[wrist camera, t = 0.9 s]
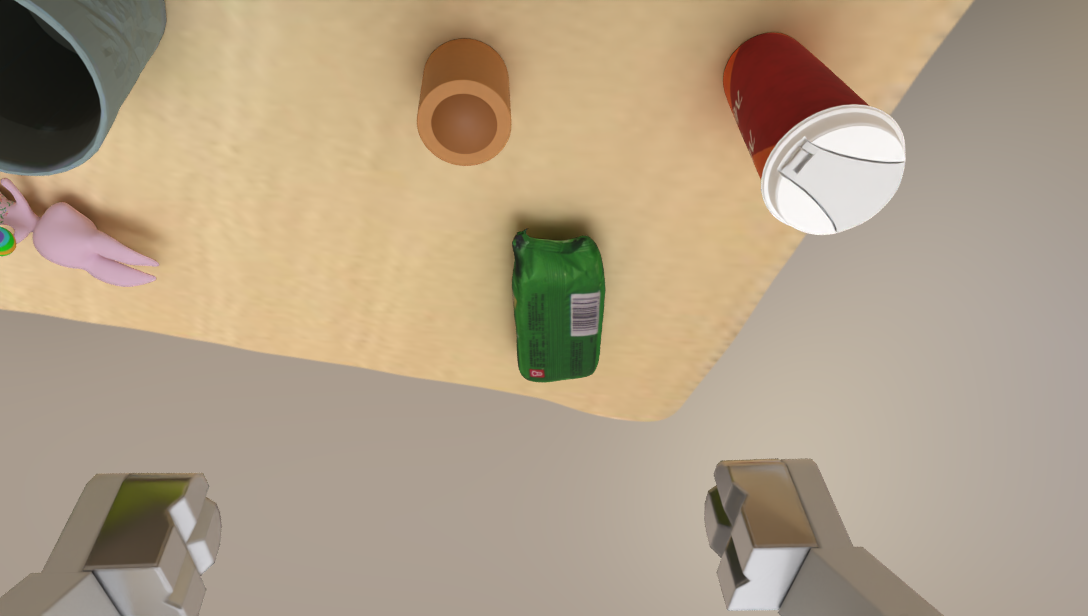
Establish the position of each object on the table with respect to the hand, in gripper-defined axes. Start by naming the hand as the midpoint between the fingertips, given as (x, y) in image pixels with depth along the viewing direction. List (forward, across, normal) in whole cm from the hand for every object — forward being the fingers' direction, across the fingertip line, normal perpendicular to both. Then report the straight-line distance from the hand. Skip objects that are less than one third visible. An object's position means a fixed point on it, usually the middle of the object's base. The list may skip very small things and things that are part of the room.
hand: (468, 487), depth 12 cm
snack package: (+40, -6, +28) cm, 49 cm away
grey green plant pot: (+39, +23, +5) cm, 46 cm away
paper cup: (+39, -19, +9) cm, 45 cm away
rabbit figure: (+40, +30, +20) cm, 54 cm away
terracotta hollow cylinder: (+39, +1, +10) cm, 40 cm away
